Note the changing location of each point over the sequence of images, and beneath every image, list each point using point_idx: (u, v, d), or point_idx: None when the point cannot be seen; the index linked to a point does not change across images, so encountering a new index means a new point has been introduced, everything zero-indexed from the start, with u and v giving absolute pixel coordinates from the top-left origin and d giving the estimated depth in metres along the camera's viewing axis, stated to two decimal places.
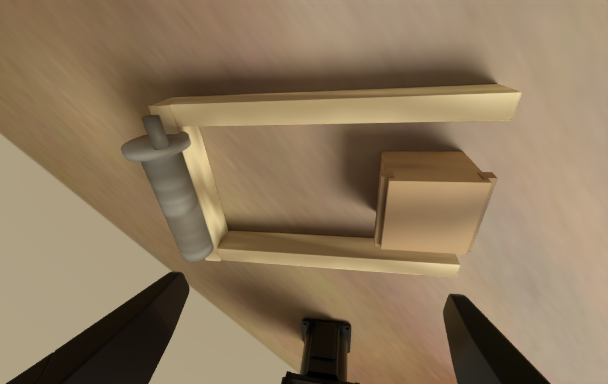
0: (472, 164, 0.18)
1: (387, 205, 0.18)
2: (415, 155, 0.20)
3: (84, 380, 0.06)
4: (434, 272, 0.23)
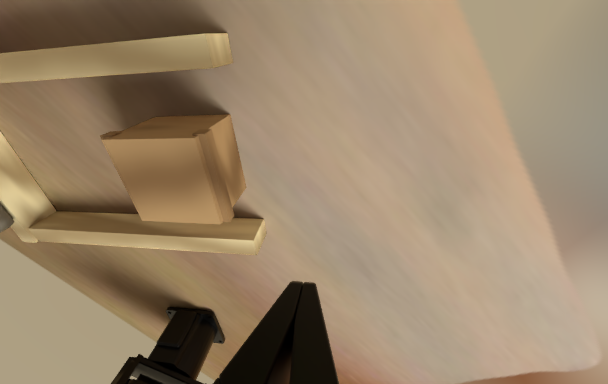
0: (212, 124, 0.16)
1: (117, 169, 0.16)
2: (178, 118, 0.18)
3: None
4: (234, 249, 0.21)
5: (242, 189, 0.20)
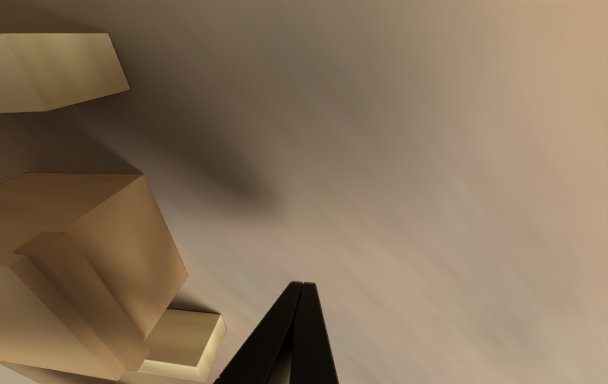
0: (90, 206, 0.08)
1: None
2: (52, 182, 0.10)
3: None
4: (170, 373, 0.14)
5: (179, 283, 0.13)
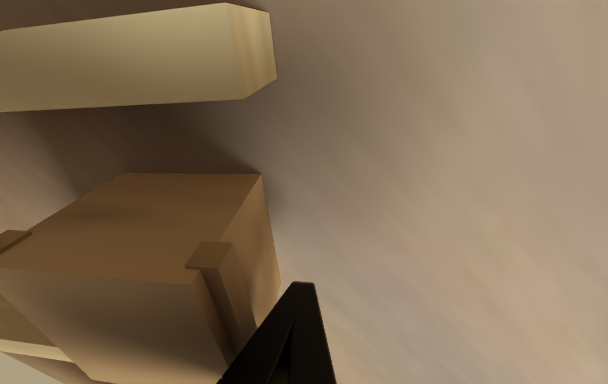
0: (230, 211, 0.07)
1: (22, 313, 0.07)
2: (160, 184, 0.09)
3: None
4: None
5: (276, 293, 0.12)
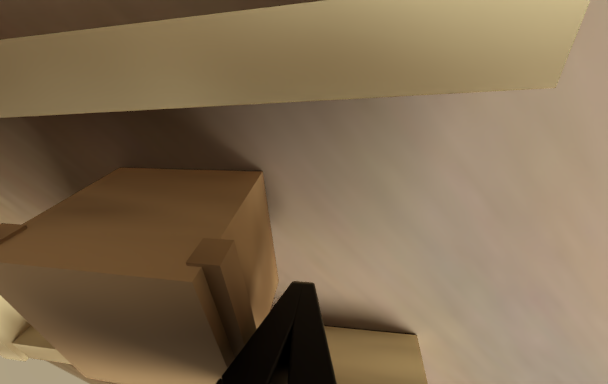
0: (231, 209, 0.07)
1: (16, 308, 0.07)
2: (159, 180, 0.09)
3: None
4: None
5: (273, 292, 0.12)
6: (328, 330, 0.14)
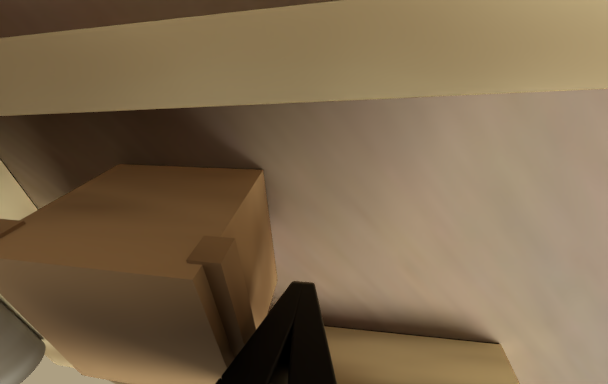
0: (232, 207, 0.07)
1: (13, 305, 0.07)
2: (159, 177, 0.09)
3: None
4: None
5: (272, 291, 0.12)
6: (404, 338, 0.13)
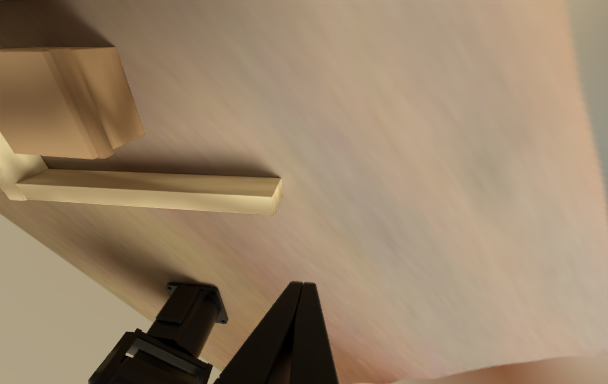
0: (82, 49, 0.15)
1: None
2: (58, 47, 0.17)
3: None
4: (249, 208, 0.19)
5: (137, 134, 0.20)
6: (227, 177, 0.21)
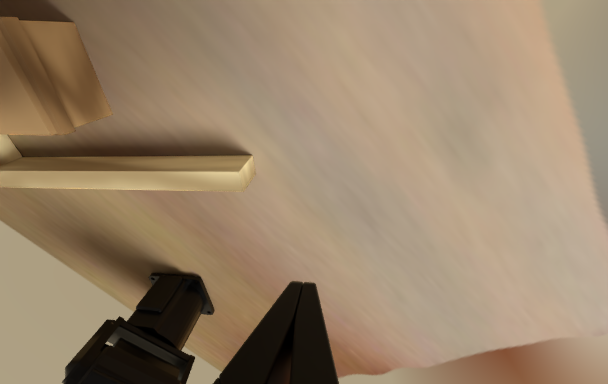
0: (34, 21, 0.15)
1: None
2: None
3: None
4: (218, 185, 0.18)
5: (104, 113, 0.19)
6: (198, 157, 0.20)
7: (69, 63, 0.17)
